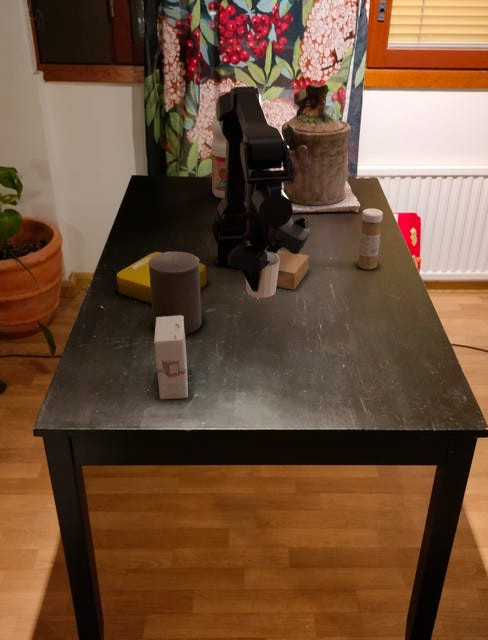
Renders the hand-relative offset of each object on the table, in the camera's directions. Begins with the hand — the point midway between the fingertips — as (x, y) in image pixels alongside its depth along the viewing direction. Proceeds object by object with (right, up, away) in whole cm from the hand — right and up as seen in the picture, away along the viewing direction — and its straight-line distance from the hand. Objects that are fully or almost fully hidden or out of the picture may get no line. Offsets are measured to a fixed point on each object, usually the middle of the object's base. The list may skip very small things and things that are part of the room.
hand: (261, 283), depth 135 cm
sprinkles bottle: (+25, +7, +31) cm, 41 cm away
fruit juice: (-9, +34, +71) cm, 79 cm away
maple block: (+5, +4, +26) cm, 27 cm away
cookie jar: (+15, +32, +69) cm, 77 cm away
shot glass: (0, -1, +1) cm, 2 cm away
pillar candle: (-17, -7, +8) cm, 20 cm away
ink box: (-15, -19, -10) cm, 27 cm away
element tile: (-21, +1, +21) cm, 30 cm away
